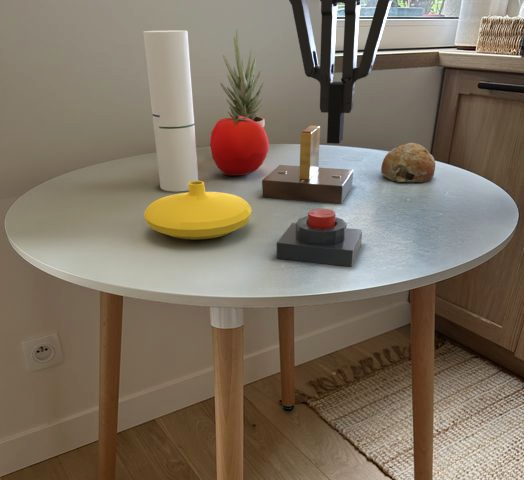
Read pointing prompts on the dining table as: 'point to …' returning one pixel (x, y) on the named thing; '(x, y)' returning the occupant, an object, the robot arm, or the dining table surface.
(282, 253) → the button block
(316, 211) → the red button
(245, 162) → the tomato
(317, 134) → the upright wooden block
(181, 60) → the cylindrical container
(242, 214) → the vase
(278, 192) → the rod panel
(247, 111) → the potted plant
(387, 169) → the bread roll
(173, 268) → the dining table surface
